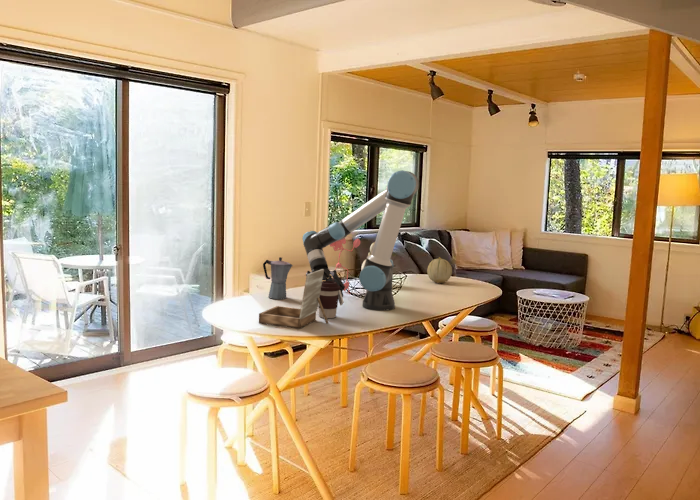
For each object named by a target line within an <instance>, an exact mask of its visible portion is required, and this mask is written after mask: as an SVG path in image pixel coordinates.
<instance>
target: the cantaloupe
mask: <svg viewBox="0 0 700 500" xmlns="http://www.w3.org/2000/svg"><path fill="white" fill-rule="evenodd" d="M426 273H427V277H428V278H429V279H430V281H432V282H433V283H436V284H444V283H446V282H448V281H449V280H450V278H451V277H452V275H453V266H452V265H451V263H450V262H449V261H448V260H446V259H444V258H441V257H440V256H439V257H438V258H434V259H432V260H431V262H429V264H428V265H427V270H426Z"/></svg>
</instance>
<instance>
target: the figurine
mask: <svg viewBox="0 0 700 500" xmlns="http://www.w3.org/2000/svg"><path fill="white" fill-rule="evenodd" d="M346 241H347V239H346V237H345V238H344V239H342V240H338V241H336V242H333V243H332V244H330V245H329V247H332V248H333V250H334V252H337V251H340V252H339V253H338V261H337V263H336V264H335V269H334V270H336V271H337V268H338V269H341V268H343V269H345V270H347V273H346V281H345V282H344V283H343V284H344V286H345V288H344V290H343V292H346V289H347V290H348V294H350V295H351V292H350V287H349V286H350V282H349V281H348V275H349V269H348V268H346V267H343V266H342V265H343V264H342V263H340V259H341V253H342V252H343V251H344V250H345V251H347V252H351V253H352V252H353V250H354V248H355V249H357V248H358V247H359V246H360V245H361V240H360V238H355V240H354V241H353V243H352V244H353V247H352V249H351V250H350V249H347V248H344V246H343V245H345V244H347V242H346ZM349 292H350V293H349Z"/></svg>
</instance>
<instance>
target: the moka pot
mask: <svg viewBox="0 0 700 500" xmlns="http://www.w3.org/2000/svg"><path fill="white" fill-rule="evenodd" d="M266 264H267V265H270V276H268V273H267V272H268V271H267V267H266ZM293 266H294V265H293V264H291V263H290V262H287V261H284V260H283V257H278V260H268V259H266V260H265V261H264V262H262V268H263V270H264V271H263V272H264V276H265V279H267V280H271V282H270V283H271V284H270V287H269V292H268V293H269V294H268V298H270V299H273V300H274V299H275V300H285V299H287V284H286V283H287V278H288V274H289V272H290V270H291V268H292V267H293Z"/></svg>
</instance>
